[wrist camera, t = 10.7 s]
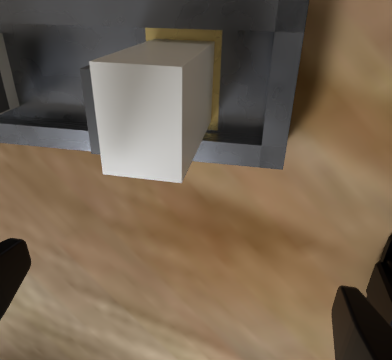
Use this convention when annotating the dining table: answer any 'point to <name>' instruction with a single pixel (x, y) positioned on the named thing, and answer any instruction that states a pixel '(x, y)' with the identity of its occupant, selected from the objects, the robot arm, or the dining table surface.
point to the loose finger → (149, 107)
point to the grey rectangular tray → (144, 31)
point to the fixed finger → (6, 82)
